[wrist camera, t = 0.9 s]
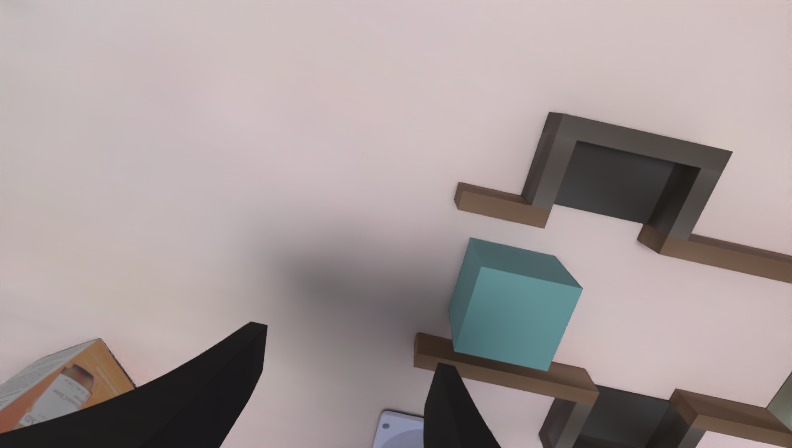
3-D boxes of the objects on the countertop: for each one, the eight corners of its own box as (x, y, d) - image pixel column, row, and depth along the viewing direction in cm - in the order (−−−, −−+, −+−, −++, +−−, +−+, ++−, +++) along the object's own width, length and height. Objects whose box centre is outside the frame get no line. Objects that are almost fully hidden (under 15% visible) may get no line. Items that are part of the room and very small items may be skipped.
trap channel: (733, 476, 26) (780, 532, 22) (397, 404, 25) (394, 450, 22) (936, 199, 19) (1046, 220, 16) (482, 96, 19) (495, 96, 15)
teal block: (526, 326, 23) (547, 371, 19) (448, 309, 23) (454, 351, 19) (553, 254, 21) (582, 288, 18) (470, 236, 21) (481, 266, 18)
